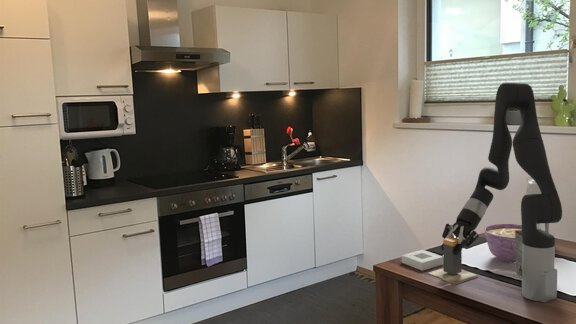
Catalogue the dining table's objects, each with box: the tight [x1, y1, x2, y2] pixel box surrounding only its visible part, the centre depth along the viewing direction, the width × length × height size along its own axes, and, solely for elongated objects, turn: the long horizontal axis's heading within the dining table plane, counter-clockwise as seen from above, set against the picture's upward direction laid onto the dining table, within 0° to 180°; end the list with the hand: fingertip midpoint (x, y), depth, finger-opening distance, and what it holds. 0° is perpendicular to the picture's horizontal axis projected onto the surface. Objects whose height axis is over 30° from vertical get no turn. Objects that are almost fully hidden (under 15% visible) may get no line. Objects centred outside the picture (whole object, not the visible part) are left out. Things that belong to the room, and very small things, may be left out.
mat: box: [427, 267, 478, 286], centre depth 183 cm, size 12×12×1 cm
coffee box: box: [514, 229, 547, 279], centre depth 178 cm, size 9×6×16 cm
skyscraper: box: [525, 177, 550, 234], centre depth 216 cm, size 8×8×28 cm
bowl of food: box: [483, 223, 522, 264], centre depth 196 cm, size 20×20×12 cm
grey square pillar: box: [442, 237, 463, 275], centre depth 182 cm, size 4×4×12 cm
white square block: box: [401, 249, 443, 271], centre depth 196 cm, size 11×11×4 cm
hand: (448, 251), depth 181 cm, fingers open, 4 cm apart
